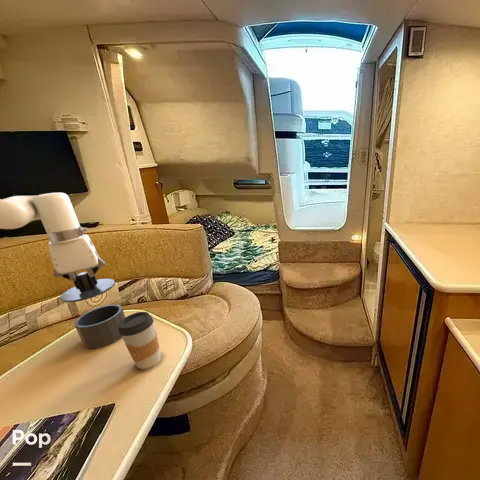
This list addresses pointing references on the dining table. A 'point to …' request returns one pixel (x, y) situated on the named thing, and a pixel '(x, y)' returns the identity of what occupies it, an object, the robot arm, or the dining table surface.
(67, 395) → the dining table surface
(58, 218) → the robot arm
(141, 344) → the coffee cup
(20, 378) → the dining table surface
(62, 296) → the lid
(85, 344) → the pot
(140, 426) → the dining table surface
